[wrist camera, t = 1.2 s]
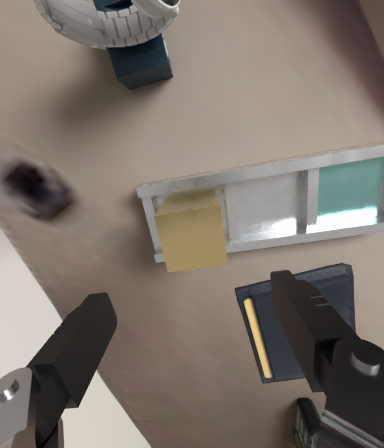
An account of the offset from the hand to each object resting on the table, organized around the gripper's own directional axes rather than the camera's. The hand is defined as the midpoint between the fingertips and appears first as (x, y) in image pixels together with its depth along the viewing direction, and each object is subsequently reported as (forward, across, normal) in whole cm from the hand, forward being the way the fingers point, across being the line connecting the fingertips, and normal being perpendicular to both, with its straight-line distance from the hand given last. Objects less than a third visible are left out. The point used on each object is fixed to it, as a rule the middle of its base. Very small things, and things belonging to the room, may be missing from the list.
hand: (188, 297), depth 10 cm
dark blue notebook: (+15, -12, +20) cm, 28 cm away
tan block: (+13, 0, 0) cm, 13 cm away
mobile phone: (+15, -12, +42) cm, 46 cm away
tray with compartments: (+14, -8, 0) cm, 16 cm away
